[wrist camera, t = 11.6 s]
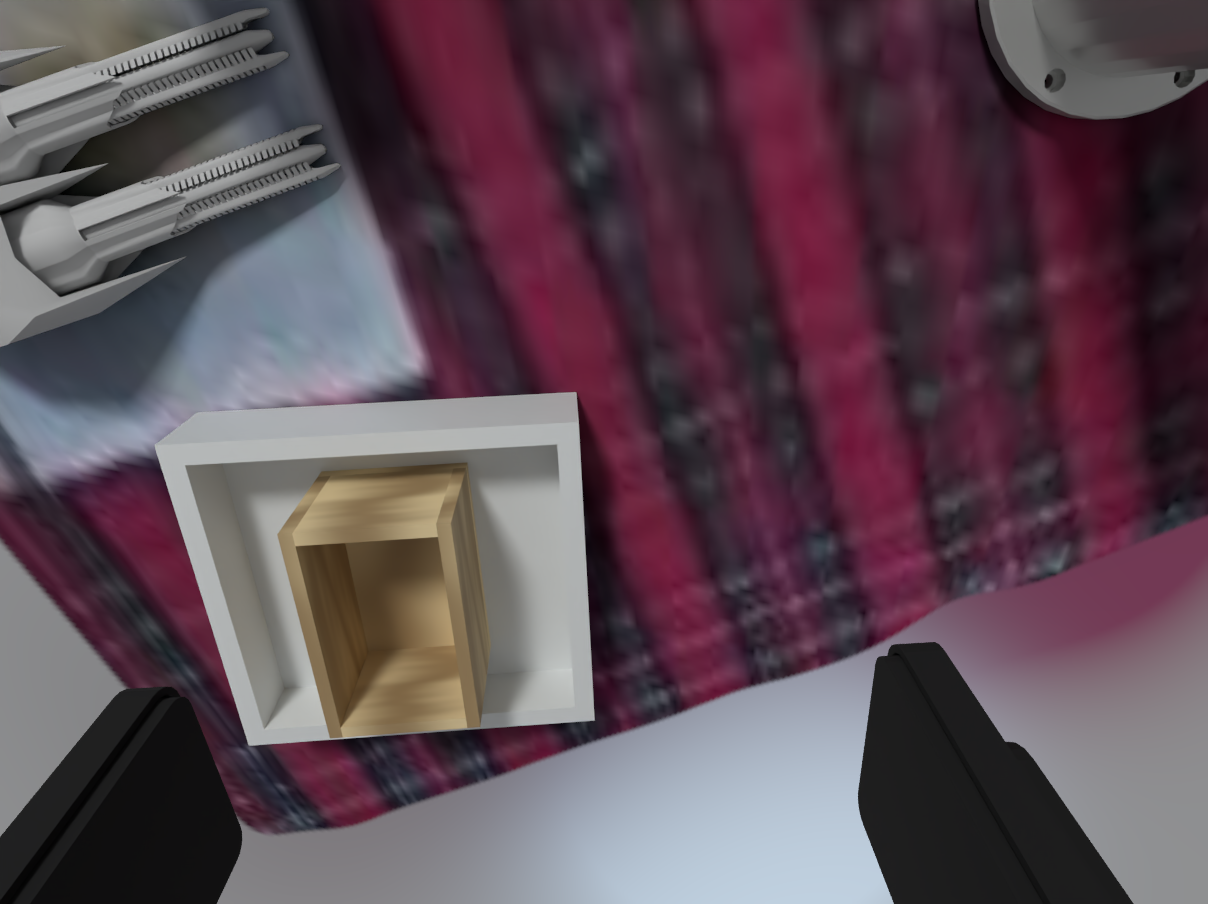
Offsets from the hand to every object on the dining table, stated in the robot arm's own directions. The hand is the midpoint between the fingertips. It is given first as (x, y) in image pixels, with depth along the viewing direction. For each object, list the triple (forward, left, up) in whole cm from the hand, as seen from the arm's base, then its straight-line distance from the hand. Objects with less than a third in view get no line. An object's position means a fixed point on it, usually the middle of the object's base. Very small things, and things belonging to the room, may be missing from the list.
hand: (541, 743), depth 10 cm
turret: (+19, -7, -26) cm, 33 cm away
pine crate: (+8, +12, -25) cm, 28 cm away
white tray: (+8, +12, -26) cm, 29 cm away
